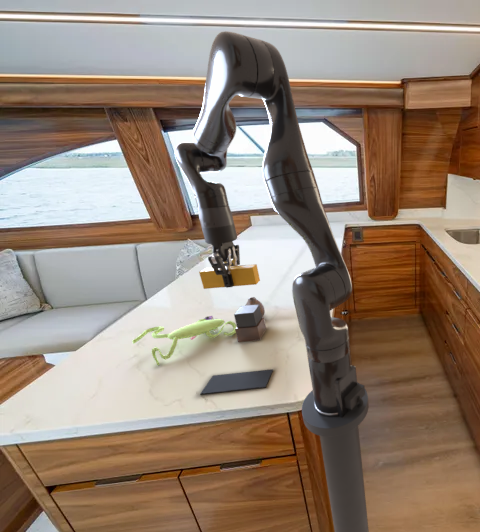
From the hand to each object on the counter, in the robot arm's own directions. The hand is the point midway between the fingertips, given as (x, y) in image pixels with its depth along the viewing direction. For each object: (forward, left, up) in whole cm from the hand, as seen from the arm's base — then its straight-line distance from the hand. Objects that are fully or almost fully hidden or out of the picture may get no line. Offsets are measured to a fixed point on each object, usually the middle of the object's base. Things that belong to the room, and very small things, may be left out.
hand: (232, 284), depth 84 cm
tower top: (+9, -8, -18) cm, 22 cm away
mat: (-9, +9, -23) cm, 27 cm away
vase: (+18, -16, -24) cm, 33 cm away
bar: (0, 0, 0) cm, 0 cm away
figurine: (+25, +4, -24) cm, 35 cm away
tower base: (+9, -8, -23) cm, 26 cm away
